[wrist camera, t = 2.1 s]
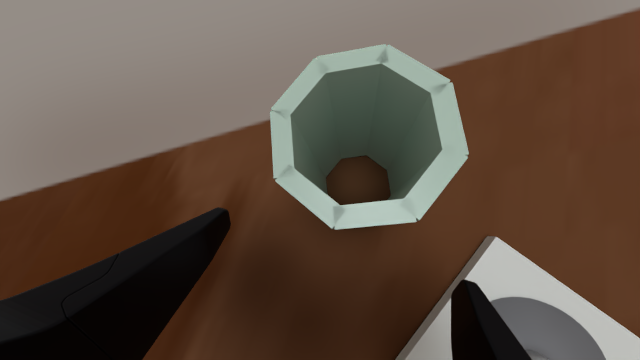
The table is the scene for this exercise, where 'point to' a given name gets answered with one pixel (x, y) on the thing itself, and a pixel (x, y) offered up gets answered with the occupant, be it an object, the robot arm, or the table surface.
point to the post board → (527, 313)
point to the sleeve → (368, 133)
